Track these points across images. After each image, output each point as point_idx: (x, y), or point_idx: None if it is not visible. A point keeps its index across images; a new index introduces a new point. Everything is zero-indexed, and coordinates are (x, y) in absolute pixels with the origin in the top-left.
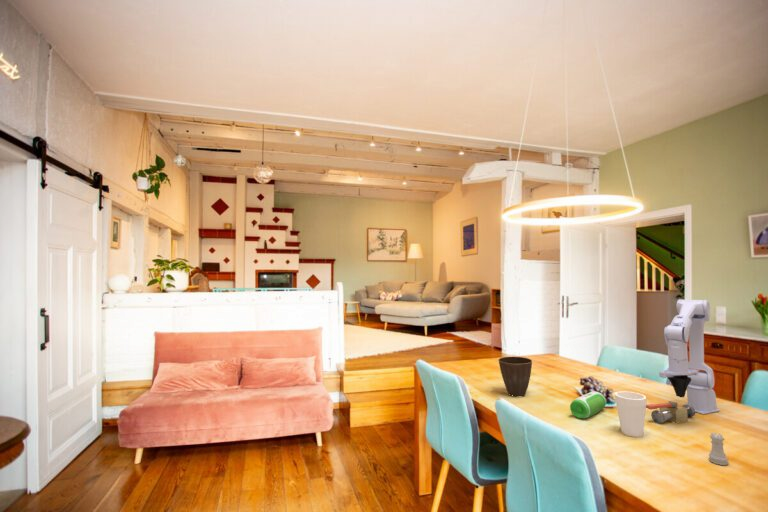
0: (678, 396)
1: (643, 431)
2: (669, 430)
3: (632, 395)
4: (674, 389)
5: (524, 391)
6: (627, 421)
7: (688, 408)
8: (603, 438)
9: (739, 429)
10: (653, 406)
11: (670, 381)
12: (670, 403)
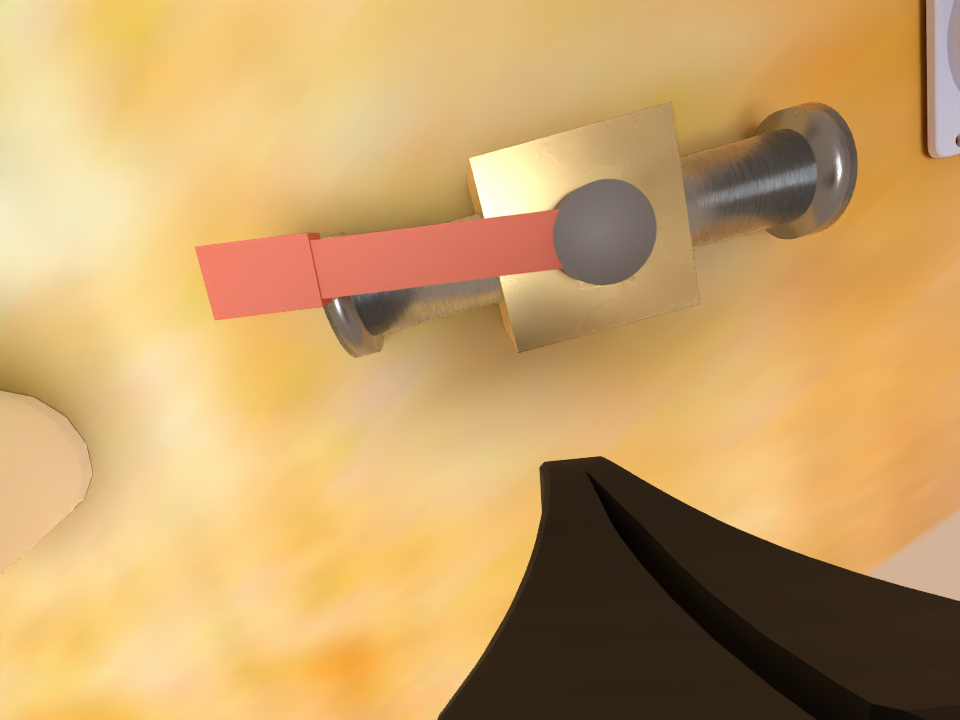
0: (542, 500)
1: (59, 521)
2: (343, 442)
3: None
4: (544, 513)
5: None
6: None
7: (786, 207)
8: None
9: (849, 477)
10: (266, 313)
11: (496, 646)
12: (556, 252)
